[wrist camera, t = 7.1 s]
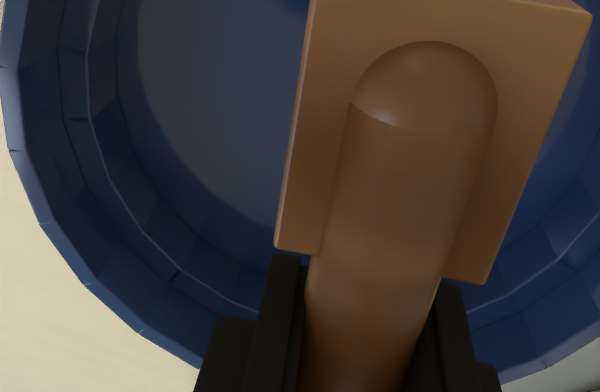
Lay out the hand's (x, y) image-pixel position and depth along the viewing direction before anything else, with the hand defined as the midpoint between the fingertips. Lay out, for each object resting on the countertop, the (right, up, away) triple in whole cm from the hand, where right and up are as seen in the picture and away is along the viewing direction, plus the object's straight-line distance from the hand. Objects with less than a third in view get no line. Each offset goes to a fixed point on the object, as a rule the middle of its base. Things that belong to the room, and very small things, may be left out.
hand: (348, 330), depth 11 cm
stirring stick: (0, 0, 0) cm, 0 cm away
